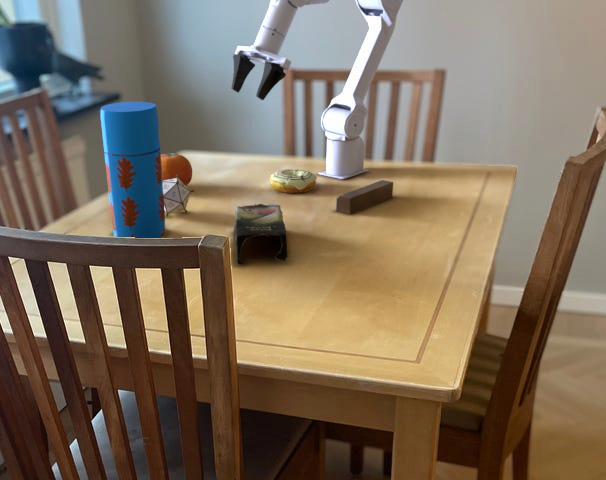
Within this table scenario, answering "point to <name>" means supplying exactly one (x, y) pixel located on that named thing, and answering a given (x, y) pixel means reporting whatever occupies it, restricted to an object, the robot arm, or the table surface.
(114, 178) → the thermos
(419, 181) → the table surface
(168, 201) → the game die
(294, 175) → the decorated donut
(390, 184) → the bar
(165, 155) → the fruit
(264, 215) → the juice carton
